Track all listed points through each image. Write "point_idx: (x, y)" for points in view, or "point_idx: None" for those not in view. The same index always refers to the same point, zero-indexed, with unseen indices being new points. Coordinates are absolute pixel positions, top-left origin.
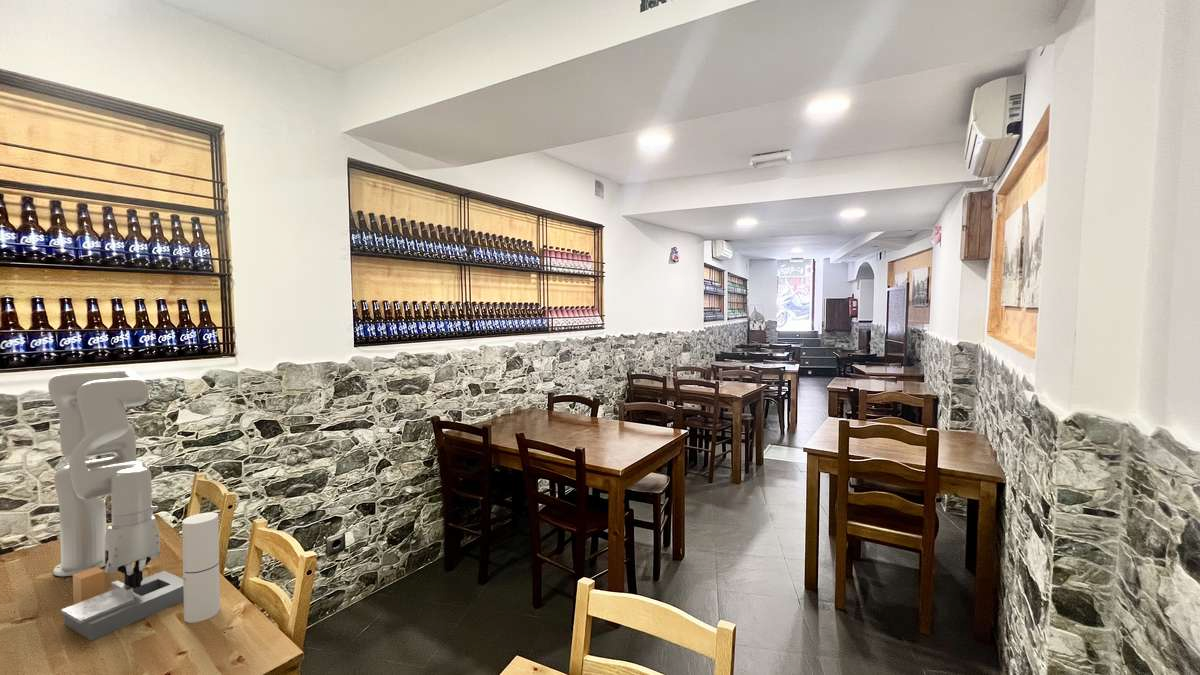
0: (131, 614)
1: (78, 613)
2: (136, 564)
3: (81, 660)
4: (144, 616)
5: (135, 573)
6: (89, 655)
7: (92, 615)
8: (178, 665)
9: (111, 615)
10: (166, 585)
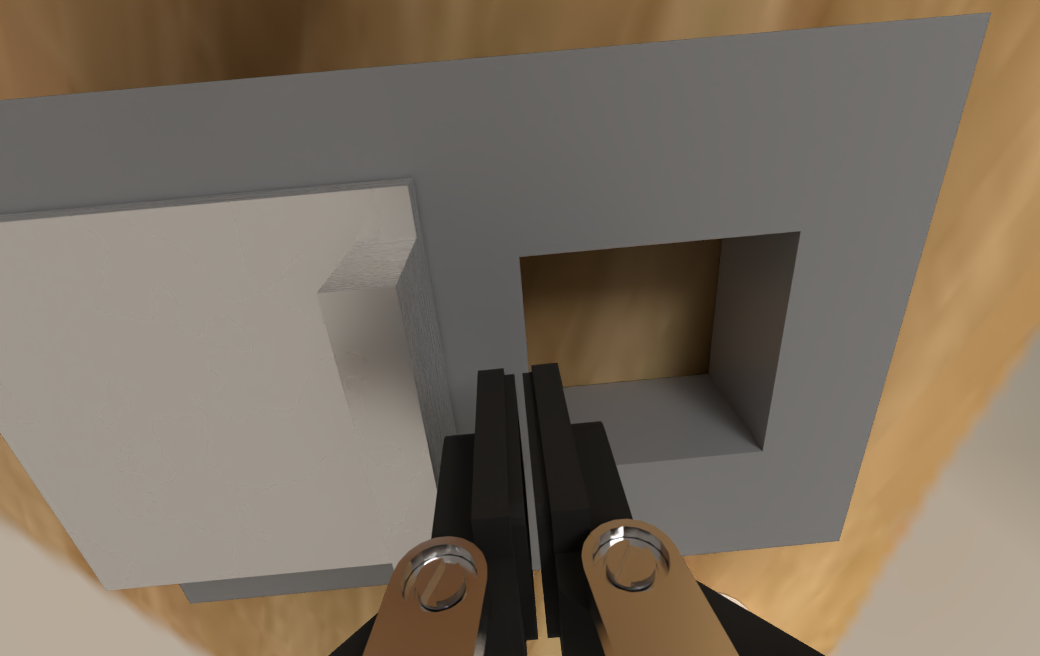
0: None
1: (73, 468)
2: (624, 632)
3: (204, 624)
4: None
5: (535, 636)
6: (234, 612)
7: (181, 578)
8: None
9: (309, 586)
10: (759, 365)
